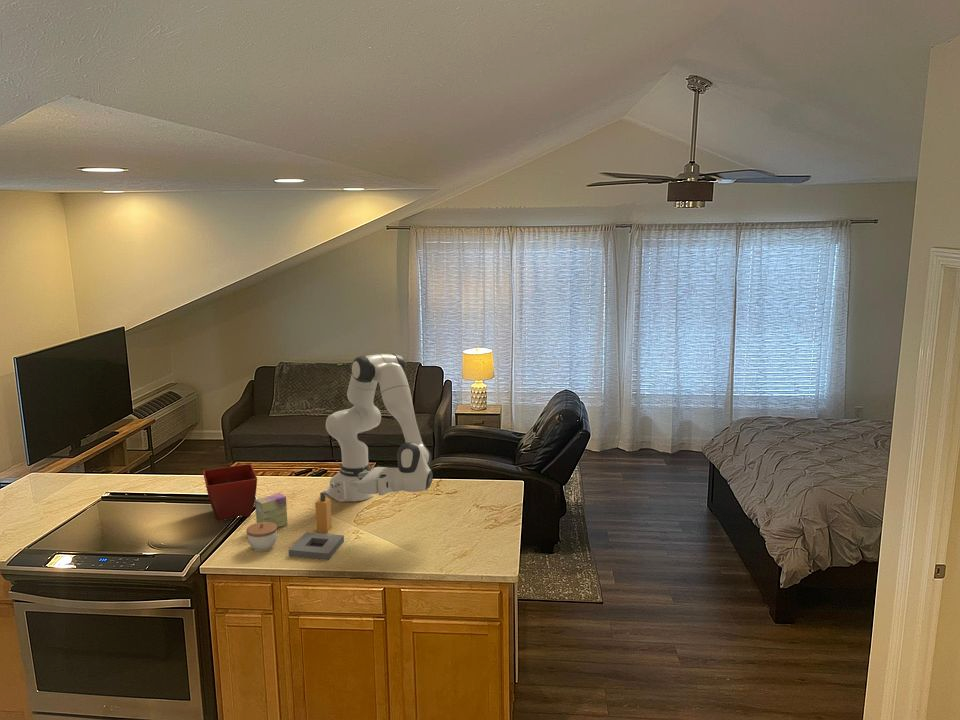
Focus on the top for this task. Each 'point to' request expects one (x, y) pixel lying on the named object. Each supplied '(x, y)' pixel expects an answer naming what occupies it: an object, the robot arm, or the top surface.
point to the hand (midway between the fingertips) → (354, 479)
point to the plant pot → (231, 490)
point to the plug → (323, 514)
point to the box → (272, 509)
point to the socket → (316, 546)
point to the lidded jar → (262, 535)
